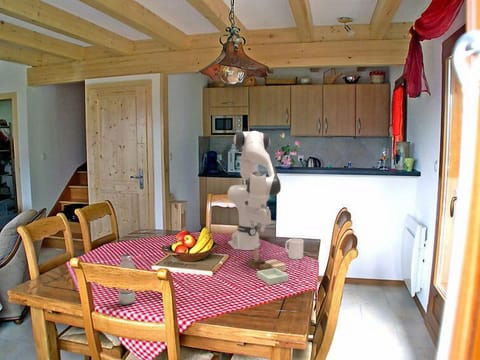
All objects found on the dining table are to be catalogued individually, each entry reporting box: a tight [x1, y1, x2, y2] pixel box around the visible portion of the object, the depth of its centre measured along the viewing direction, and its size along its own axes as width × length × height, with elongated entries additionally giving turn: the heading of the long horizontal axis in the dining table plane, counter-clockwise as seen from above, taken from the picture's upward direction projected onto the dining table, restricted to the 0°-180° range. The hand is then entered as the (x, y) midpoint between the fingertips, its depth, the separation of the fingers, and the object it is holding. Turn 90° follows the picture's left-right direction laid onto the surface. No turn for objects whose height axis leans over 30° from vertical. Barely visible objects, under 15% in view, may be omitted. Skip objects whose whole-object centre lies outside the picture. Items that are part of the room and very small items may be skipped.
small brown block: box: [259, 264, 271, 271], centre depth 195 cm, size 4×4×3 cm
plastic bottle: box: [117, 253, 136, 306], centre depth 154 cm, size 6×7×20 cm
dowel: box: [253, 247, 260, 261], centre depth 200 cm, size 2×2×10 cm
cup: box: [284, 238, 305, 261], centre depth 219 cm, size 8×12×10 cm
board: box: [263, 258, 287, 272], centre depth 197 cm, size 10×7×4 cm
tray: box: [256, 268, 290, 286], centre depth 184 cm, size 11×11×3 cm
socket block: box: [247, 257, 265, 270], centre depth 200 cm, size 6×6×4 cm
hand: (257, 229), depth 198 cm, fingers open, 8 cm apart
